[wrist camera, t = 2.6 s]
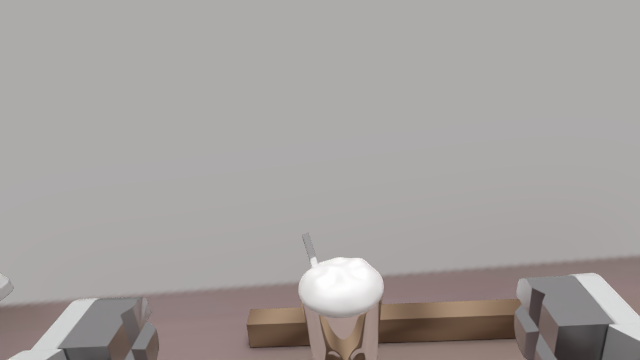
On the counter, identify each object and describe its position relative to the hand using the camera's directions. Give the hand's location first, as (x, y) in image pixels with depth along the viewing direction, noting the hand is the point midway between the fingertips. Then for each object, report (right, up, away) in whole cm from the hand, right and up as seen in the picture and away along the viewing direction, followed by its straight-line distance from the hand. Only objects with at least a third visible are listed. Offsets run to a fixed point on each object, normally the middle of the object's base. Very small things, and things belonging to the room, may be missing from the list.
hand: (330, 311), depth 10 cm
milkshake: (+1, -10, +18) cm, 20 cm away
